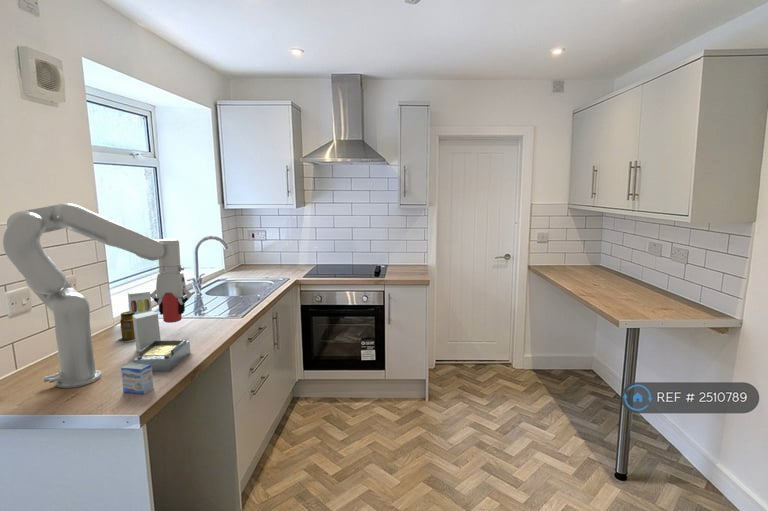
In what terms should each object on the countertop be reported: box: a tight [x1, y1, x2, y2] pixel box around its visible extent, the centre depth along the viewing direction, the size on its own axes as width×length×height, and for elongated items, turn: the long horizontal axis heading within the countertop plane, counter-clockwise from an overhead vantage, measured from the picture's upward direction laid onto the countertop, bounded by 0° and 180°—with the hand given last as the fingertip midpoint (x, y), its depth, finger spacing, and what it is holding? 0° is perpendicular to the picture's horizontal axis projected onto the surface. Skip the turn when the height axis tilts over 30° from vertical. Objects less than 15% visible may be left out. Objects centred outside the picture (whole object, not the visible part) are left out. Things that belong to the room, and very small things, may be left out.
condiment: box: [114, 310, 135, 343], centre depth 179 cm, size 7×8×12 cm
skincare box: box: [132, 310, 162, 353], centre depth 166 cm, size 8×7×16 cm
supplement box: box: [127, 288, 153, 315], centre depth 201 cm, size 10×9×17 cm
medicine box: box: [120, 362, 154, 395], centre depth 132 cm, size 8×4×9 cm, turn 80°
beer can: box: [162, 293, 183, 324], centre depth 161 cm, size 7×7×12 cm
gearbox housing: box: [133, 339, 191, 373], centre depth 155 cm, size 18×12×7 cm
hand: (172, 313), depth 162 cm, fingers closed on beer can, 6 cm apart
